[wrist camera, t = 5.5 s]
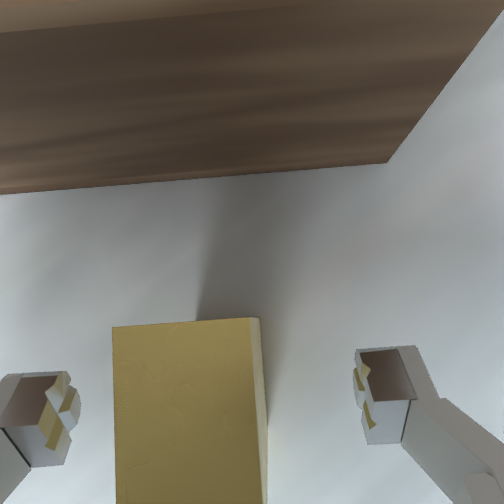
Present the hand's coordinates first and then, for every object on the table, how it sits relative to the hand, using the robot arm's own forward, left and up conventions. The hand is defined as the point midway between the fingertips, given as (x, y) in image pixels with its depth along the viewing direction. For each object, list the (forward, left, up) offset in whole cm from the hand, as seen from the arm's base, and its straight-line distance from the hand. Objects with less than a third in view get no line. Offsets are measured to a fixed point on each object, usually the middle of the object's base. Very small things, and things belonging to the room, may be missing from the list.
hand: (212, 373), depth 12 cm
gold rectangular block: (0, 0, -5) cm, 5 cm away
